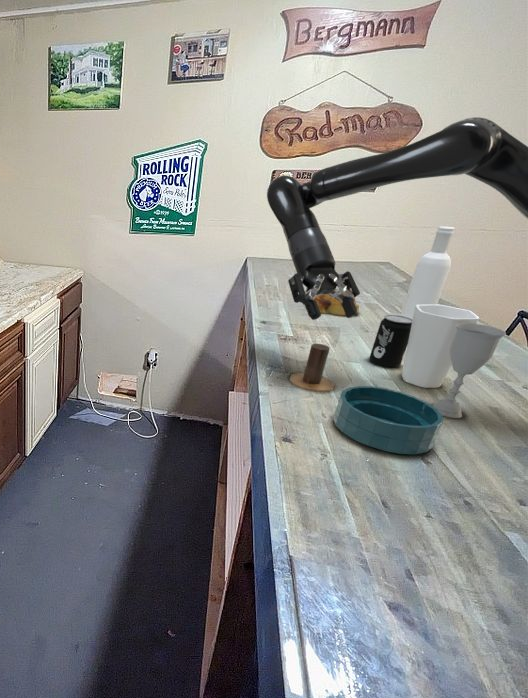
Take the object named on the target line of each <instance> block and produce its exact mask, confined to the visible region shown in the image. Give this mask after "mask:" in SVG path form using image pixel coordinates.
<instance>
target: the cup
mask: <svg viewBox="0 0 528 698" xmlns="http://www.w3.org/2000/svg"><path fill="white" fill-rule="evenodd" d="M479 320H480V317H479V316H478V315H477V314H476V313H475V312H474V311H472V310H469V309H464V308H459V307H455V306H450V305H445V304H439V303H438V304H430V305H416V306H415V310H414V315H413V320H412V325H411V330H410V335H409V341H408V345H407V348H406V351H405V355H404V356H405V357H404V362H403V366H402V371H401V378H402V379H403V381H404V382H406V383H407V384H411V385H414V386H416V387H417V386H418V387H421V388H425V389H429V388H430V389H431V388H433V389H434V388H440V387H441V385H442V384H443V382H444V381H445V378H446V377H447V375H448V374H449V372H450V370H451V368H453V366H452V362H451V357H450V348H451V345H452V342H453V340H454V337H455V335H456V332H457V329H456V324H459V323H471V324H478V322H479Z"/></svg>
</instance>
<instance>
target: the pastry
mask: <svg viewBox="0 0 528 698" xmlns="http://www.w3.org/2000/svg"><path fill="white" fill-rule="evenodd" d="M338 289H339V288H336V289H335V290H334V291H337V290H338ZM350 291H351V292H352V290H351V289H350ZM340 294H342V295H343V296H345V295H344V294H343V293H340ZM314 300H316V302H317V304H318V307H319V310H320V312H321V315H322V314H324V315H331V316H337V317H346V314H345V312H344V309H343V307H342V304H341V303H342V302H341V301H340V300H338V299H337V298H336V297H332V296H331V295H330V294H319V295H316V296H315V298H314ZM353 301H354V303H355V306H356V308H357V314H356V315H355V316H354V317H356V316H358V315H359V314H360V313H359V311H360V305H358V304H357V300H356V297H355V298H353ZM346 318H347V317H346Z"/></svg>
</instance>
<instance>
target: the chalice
mask: <svg viewBox="0 0 528 698" xmlns="http://www.w3.org/2000/svg"><path fill="white" fill-rule="evenodd" d="M456 329H457V332H456V335H455V337H454V340H453V342H452V345H451V348H450V357H451V362H452V369H453V371H454V372H456V373H457V377H456V378H455V379H454V380H453V381H452V383H453V386H452V387H450V388H449V389H448V390H449V396H448V397H445V398H441V399H438V400H437V402H435V403H434V404H433V405H432V406H433V407H434V408H436V409H437V410H438V411H439V412H440V413H441V414H442V416H443V417H447V418H453V419H460V418H463V414H462V406H461V404H460V402H458V401H457V400H456V399H457V396H458V394H460V393H461V390H460V388H461V386H462V385H464V378H465V376H466V375H467V376H468V375H473V374H474V373H475V372H477V371H478V370H480V369H481V368H482V367H483V366H485V364H487V362H489V361H490V359H492V358H493V356H494V353H495V352H496V349H497V347H498V344H499V342H500V339H502V338H503V337H504V336H505V335H507V332H506V331H505V330H502V329H499V328H497V327H494V326H489V325H484V324H480V323H479V324H478V323H477V324H471V323H459V324H456Z"/></svg>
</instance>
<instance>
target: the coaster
mask: <svg viewBox="0 0 528 698" xmlns="http://www.w3.org/2000/svg"><path fill="white" fill-rule="evenodd" d="M303 376H304V372H295V373H292V374H291V375H290V376H289V381H290V382H291V383H292V384H293V385H294V386H296V387H297V388H300V389H303V390H307V391H311V392H317V393H326V392H327V393H328V392H331V391H333V390H334V389H335V383H334V382H333V381H332V380H330V379H329V378H327V377H325V376H322V379H321V382H320V384H310V383H307V382H305V381H303Z"/></svg>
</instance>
